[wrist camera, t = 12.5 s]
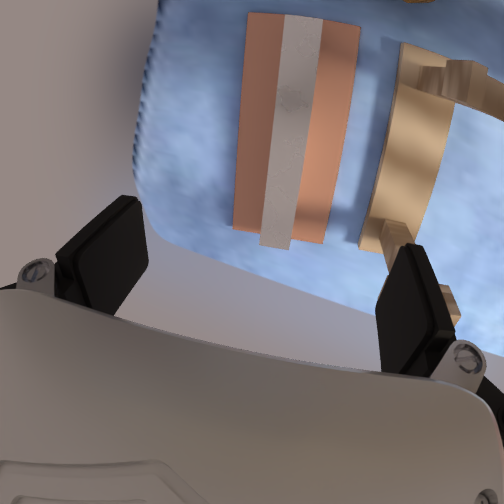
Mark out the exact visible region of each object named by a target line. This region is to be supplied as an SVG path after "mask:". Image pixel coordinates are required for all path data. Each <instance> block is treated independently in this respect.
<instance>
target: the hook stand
mask: <svg viewBox="0 0 504 504" xmlns="http://www.w3.org/2000/svg"><path fill="white" fill-rule="evenodd" d="M487 72H488V68H487V67H485V66H483V65H481V64H479V63H477V62H475V61H471V60H452V59H449V58H447V57H444V56H442V55H439V54H437V53H434V52H431V51H429V50H426V49H423V48H420V47H417V46H414V45H411V44H408V43H405V42H404V43H401V46H400V54H399V61H398V68H397V75H396V82H395V88H394V94H393V100H392V105H391V111H390V116H389V121H388V126H387V131H386V136H385V141H384V145H383V150H382V154H381V158H380V163H379V167H378V171H377V175H376V179H375V183H374V187H373V191H372V195H371V199H370V203H369V206H368V210H367V213H366V217H365V221H364V224H363V228H362V231H361V234H360V238H359V241H358V248H359V250H364V251H370V252H375V253H381V254H384V257H385V261H386V264H387V268H388V271H389V273H390V271H391V268H392V266H393V263H394V261H395V258H396V256H397V253H398V251H399V248H400V247H401V246H405V245H406V243H412V244H415V242H414V241H415V239H416V236H417V234H418V231H419V228H420V226H421V223H422V220H423V217H424V214H425V211H426V209H427V206H428V203H429V200H430V197H431V193H432V190H433V187H434V184H435V181H436V177H437V174H438V171H439V167H440V164H441V160H442V156H443V153H444V149H445V145H446V141H447V137H448V133H449V128H450V124H451V120H452V115H453V110H454V105H455V103H458V104H461V105H464V106H467V107H470V108H472V109H475V110H478V111H480V112H483V113H486V114H488V115H490V116H493V117H495V118H497V119H499V120H501V121H503V122H504V84H503V83H501V82H499V81H497V80H496V79H494V78H492V77H490V76H488V75H487ZM388 276H389V275H387V278H388ZM387 278H386V280H387ZM386 280H385V283H386ZM385 283H384V285H385ZM384 285H383V287H384ZM439 286H440V289H441V291H442V294H443V297H444V299H445V302H446V305H447V308H448V310H449V313H450V316H451V319H452V322H453V325H454V327H455V325H456V324H457V322H458V321H459V319H460V317H461V313H460V311H459V308H458V306H457V304H456V301H455V299H454V296H453V294H452V292H451V290H450V287H449V286H448V285H442V284H439ZM383 287H382V290H383ZM382 290H381V292H382ZM381 292H380V294H381ZM380 294H379V296H380ZM379 296H378V299H379Z"/></svg>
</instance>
